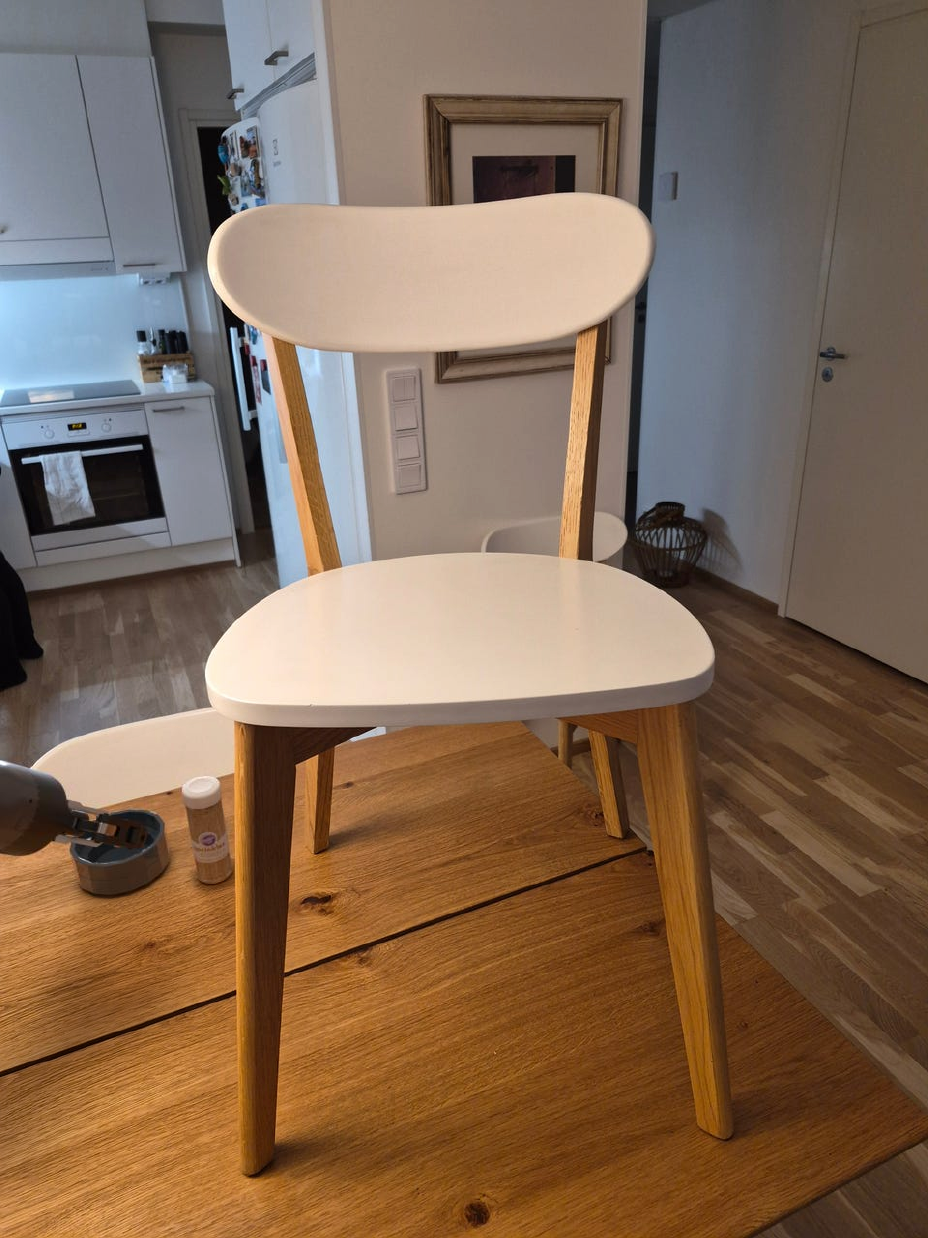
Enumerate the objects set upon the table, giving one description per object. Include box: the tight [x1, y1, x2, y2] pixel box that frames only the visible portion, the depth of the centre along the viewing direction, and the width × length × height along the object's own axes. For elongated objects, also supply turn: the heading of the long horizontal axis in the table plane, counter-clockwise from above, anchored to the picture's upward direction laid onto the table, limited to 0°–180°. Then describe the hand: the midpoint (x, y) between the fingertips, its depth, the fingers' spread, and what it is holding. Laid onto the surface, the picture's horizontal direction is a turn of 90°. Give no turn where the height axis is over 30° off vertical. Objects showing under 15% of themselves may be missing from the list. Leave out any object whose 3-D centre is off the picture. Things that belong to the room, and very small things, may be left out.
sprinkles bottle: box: [181, 775, 234, 885], centre depth 102 cm, size 5×5×13 cm
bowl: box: [69, 808, 171, 896], centre depth 105 cm, size 11×11×5 cm
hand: (106, 831), depth 86 cm, fingers open, 8 cm apart
